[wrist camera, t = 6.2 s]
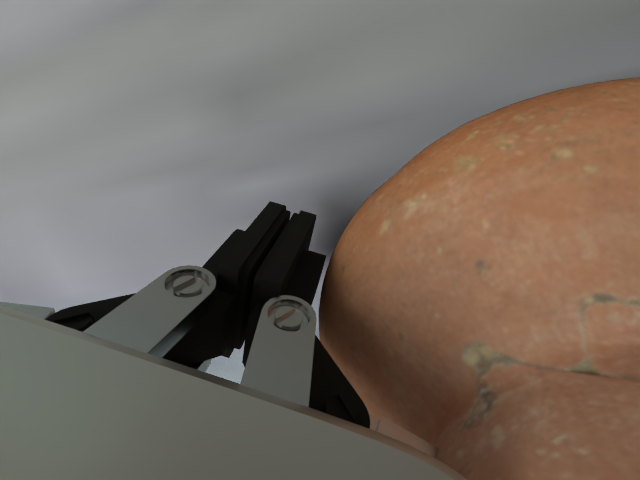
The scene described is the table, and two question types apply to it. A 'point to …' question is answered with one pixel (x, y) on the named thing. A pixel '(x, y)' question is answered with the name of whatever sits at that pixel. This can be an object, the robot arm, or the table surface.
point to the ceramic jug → (504, 291)
